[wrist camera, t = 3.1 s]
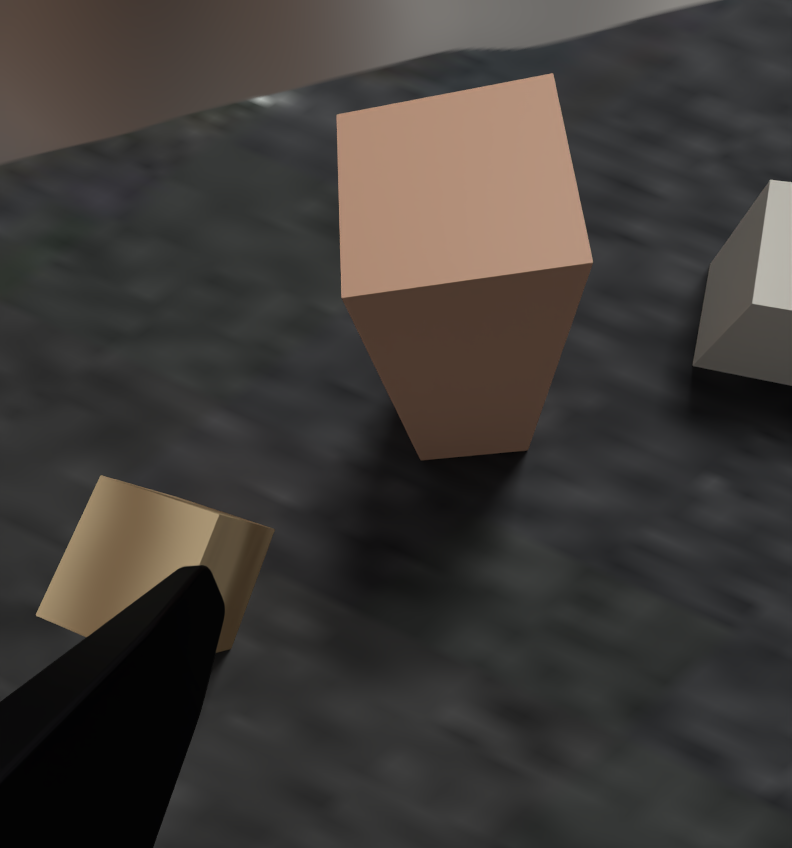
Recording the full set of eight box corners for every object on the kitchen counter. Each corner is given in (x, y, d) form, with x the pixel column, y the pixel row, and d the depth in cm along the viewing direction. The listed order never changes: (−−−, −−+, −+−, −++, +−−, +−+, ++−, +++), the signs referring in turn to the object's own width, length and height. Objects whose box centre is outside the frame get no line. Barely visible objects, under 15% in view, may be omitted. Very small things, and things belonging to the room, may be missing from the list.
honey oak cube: (275, 529, 22) (219, 514, 17) (231, 648, 21) (158, 668, 16) (178, 497, 23) (101, 475, 18) (131, 608, 22) (35, 615, 17)
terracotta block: (527, 450, 21) (593, 262, 9) (420, 460, 22) (341, 297, 9) (513, 352, 22) (553, 73, 10) (413, 364, 23) (336, 114, 11)
